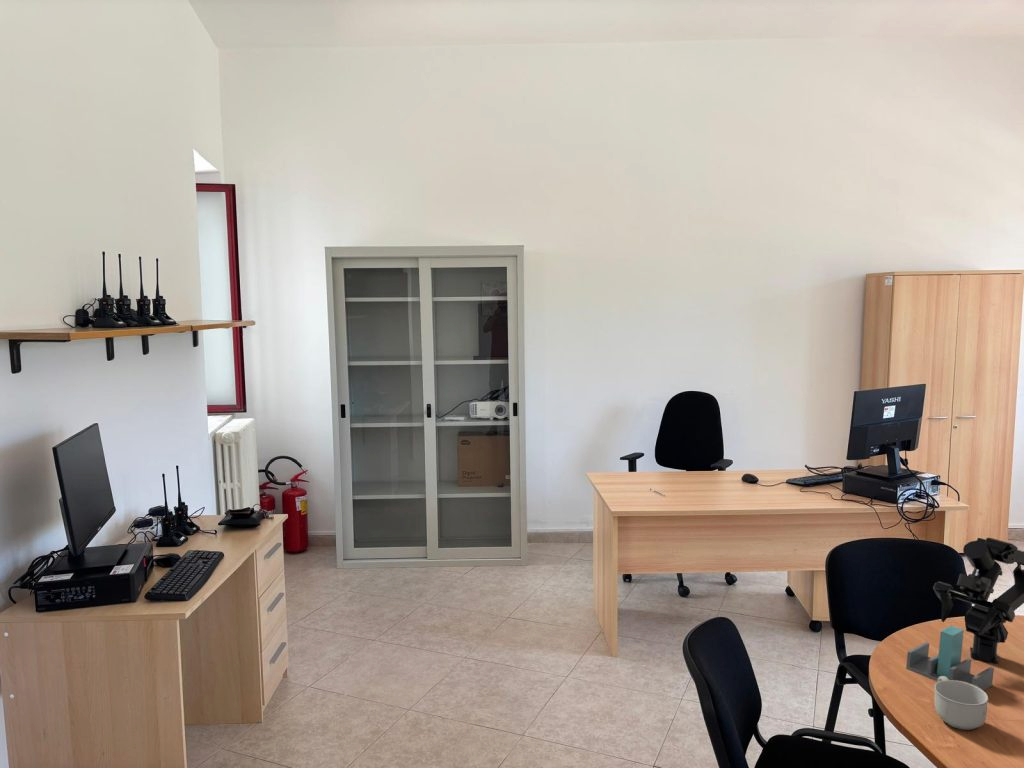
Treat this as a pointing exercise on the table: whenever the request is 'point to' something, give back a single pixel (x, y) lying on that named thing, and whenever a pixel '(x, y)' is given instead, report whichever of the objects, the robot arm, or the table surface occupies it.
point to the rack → (959, 672)
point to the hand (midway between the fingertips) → (960, 627)
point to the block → (949, 650)
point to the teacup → (960, 703)
